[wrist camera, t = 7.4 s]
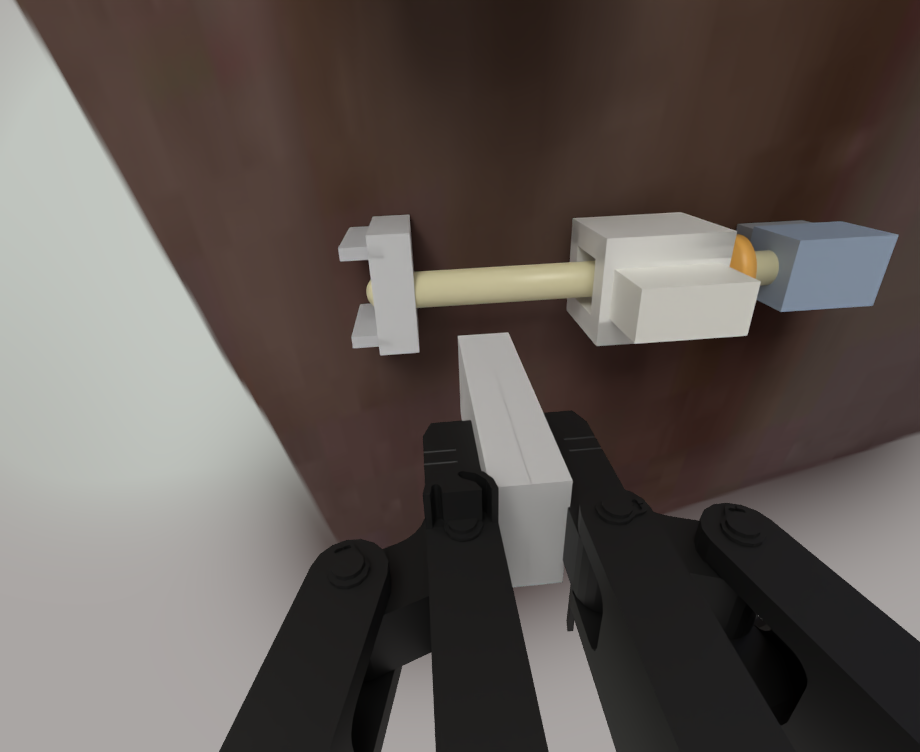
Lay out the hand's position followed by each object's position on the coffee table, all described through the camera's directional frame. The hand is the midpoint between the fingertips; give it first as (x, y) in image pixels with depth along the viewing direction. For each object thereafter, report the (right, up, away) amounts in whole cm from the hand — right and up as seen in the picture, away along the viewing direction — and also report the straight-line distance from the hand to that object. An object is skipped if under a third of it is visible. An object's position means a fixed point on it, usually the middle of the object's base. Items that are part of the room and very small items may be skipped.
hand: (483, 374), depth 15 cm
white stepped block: (+8, +6, +13) cm, 17 cm away
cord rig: (+7, +7, +14) cm, 17 cm away
